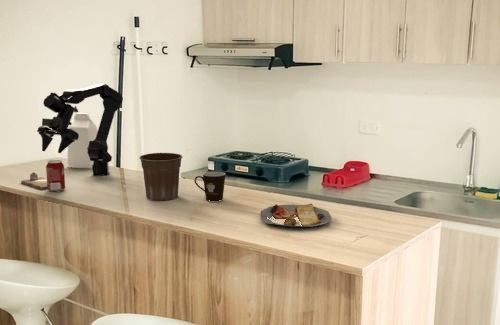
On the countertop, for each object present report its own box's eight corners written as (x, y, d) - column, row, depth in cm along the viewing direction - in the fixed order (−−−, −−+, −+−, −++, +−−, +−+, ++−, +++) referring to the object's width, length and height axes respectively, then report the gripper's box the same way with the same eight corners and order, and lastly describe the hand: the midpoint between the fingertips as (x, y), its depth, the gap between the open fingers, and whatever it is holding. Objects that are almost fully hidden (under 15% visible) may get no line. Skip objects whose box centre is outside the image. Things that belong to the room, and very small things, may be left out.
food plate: (260, 208, 200) (261, 199, 199) (326, 210, 199) (326, 201, 198) (259, 232, 175) (260, 221, 175) (334, 234, 175) (334, 223, 174)
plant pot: (170, 204, 206) (169, 161, 203) (132, 200, 211) (131, 158, 208) (190, 194, 221) (189, 154, 218) (154, 190, 226) (153, 151, 223)
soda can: (61, 192, 222) (60, 162, 220) (45, 192, 222) (43, 162, 220) (67, 188, 229) (66, 159, 227) (51, 188, 229) (49, 159, 227)
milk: (67, 167, 273) (64, 114, 268) (78, 163, 284) (75, 112, 279) (90, 168, 271) (88, 114, 266) (100, 163, 282) (98, 112, 277)
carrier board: (21, 183, 238) (20, 173, 237) (41, 180, 244) (40, 170, 244) (42, 190, 226) (41, 179, 225) (62, 186, 232) (62, 176, 232)
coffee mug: (230, 199, 213) (230, 173, 211) (213, 203, 207) (213, 177, 205) (209, 194, 221) (209, 169, 219) (193, 198, 215) (192, 172, 213)
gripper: (34, 108, 232) (20, 142, 228) (66, 110, 223) (53, 146, 219) (53, 119, 241) (40, 152, 237) (85, 122, 232) (72, 156, 228)
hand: (51, 152), depth 230 cm, fingers open, 9 cm apart
